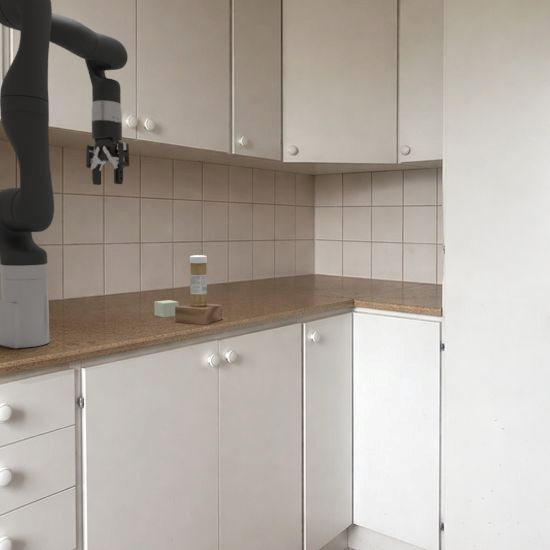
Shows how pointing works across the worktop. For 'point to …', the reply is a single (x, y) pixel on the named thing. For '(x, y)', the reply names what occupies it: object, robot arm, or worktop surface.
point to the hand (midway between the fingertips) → (107, 184)
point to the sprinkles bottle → (198, 280)
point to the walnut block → (198, 314)
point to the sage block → (165, 308)
